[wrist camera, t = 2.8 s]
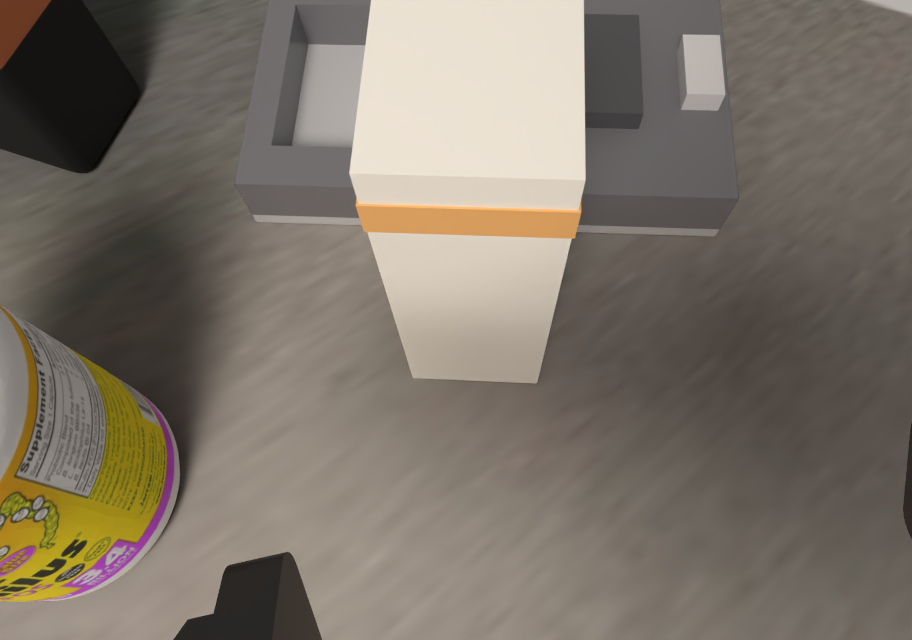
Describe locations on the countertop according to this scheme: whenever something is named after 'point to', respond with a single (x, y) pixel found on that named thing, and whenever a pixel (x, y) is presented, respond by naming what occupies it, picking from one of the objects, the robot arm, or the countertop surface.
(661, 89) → the grey tray
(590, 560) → the countertop surface
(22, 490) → the supplement bottle
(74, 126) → the battery
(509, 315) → the white tall block
